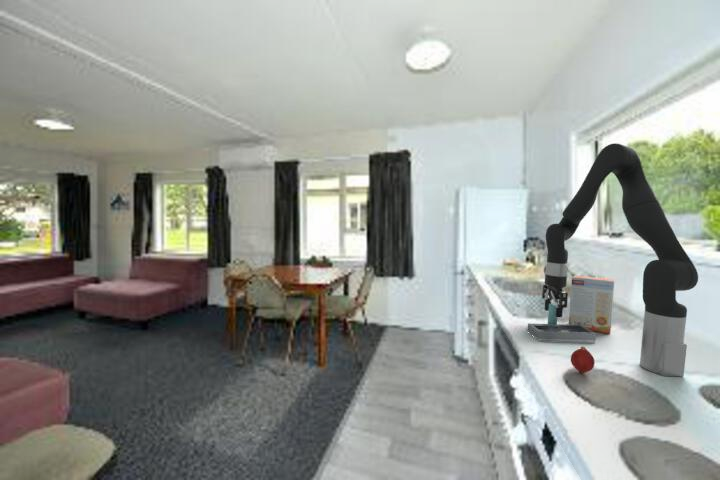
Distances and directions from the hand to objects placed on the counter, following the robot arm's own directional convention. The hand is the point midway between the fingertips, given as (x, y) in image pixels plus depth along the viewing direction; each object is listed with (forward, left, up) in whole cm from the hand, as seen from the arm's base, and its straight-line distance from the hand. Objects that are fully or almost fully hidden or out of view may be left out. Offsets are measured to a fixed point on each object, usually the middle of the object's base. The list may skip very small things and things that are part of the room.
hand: (552, 313), depth 136 cm
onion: (-39, +12, -6) cm, 41 cm away
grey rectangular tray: (-10, +2, -6) cm, 12 cm away
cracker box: (+2, -16, -7) cm, 17 cm away
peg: (0, 0, -6) cm, 6 cm away
